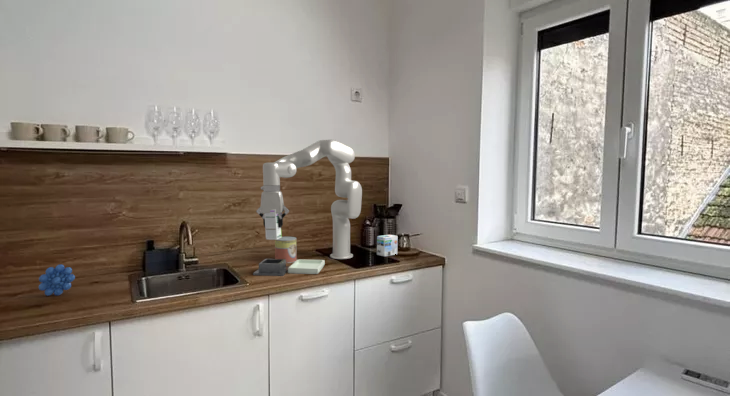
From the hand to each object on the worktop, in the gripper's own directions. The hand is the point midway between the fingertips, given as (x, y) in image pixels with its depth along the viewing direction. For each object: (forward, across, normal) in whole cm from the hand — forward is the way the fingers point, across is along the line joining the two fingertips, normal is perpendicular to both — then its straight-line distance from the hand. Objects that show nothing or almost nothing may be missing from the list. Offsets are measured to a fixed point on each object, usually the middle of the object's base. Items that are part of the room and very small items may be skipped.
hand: (273, 226), depth 194 cm
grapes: (+19, -72, -43) cm, 86 cm away
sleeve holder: (+21, -1, -1) cm, 21 cm away
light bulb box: (+24, +52, +43) cm, 72 cm away
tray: (+22, +14, +6) cm, 27 cm away
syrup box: (+6, 0, 0) cm, 6 cm away
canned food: (+22, -1, +22) cm, 31 cm away
